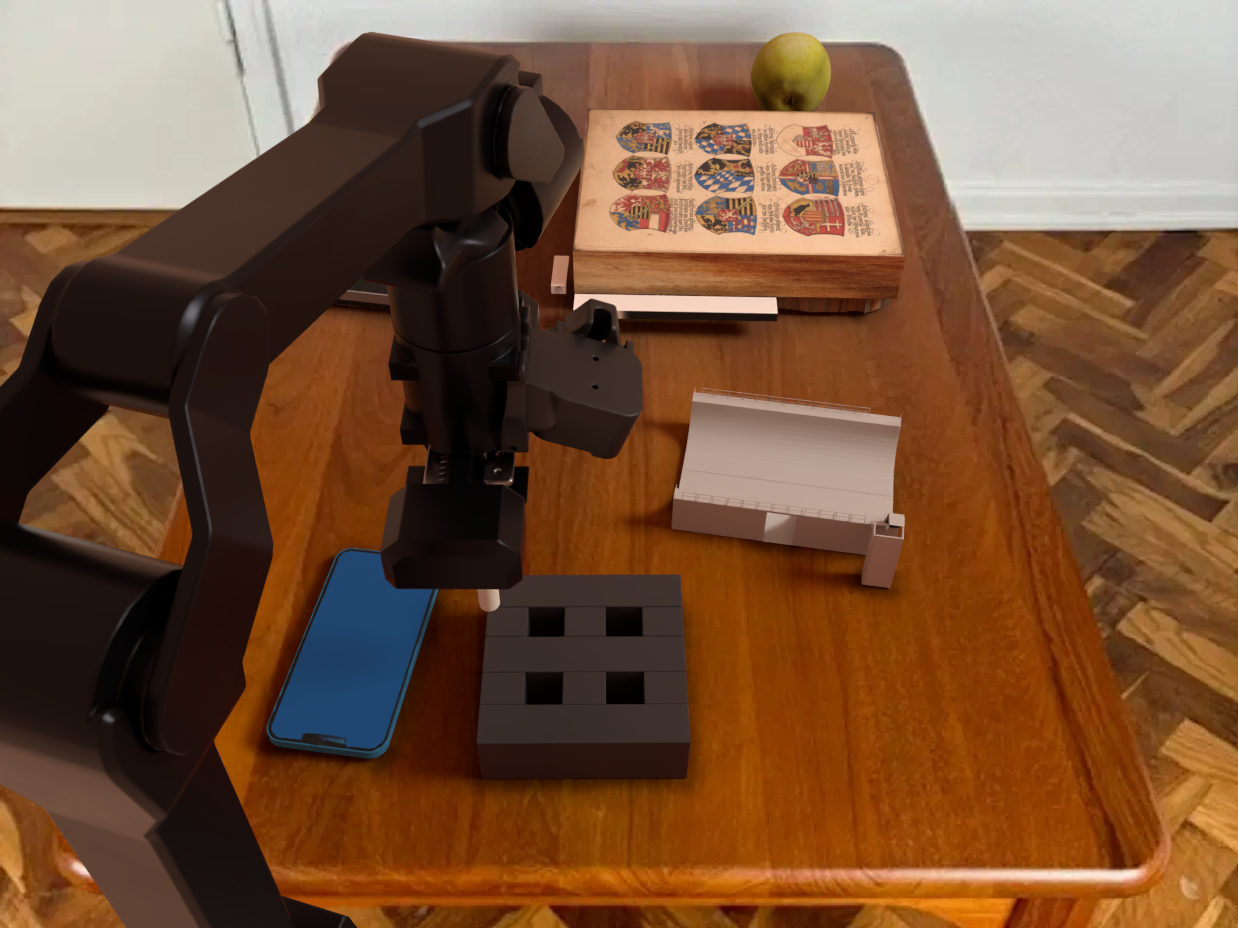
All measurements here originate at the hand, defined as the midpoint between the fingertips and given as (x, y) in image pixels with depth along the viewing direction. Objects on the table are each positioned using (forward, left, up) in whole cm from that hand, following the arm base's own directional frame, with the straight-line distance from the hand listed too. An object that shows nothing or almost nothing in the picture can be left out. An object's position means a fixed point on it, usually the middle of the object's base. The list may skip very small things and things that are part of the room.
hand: (481, 536), depth 65 cm
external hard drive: (+30, +26, -13) cm, 42 cm away
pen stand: (+1, -6, -13) cm, 14 cm away
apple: (+71, +5, -13) cm, 72 cm away
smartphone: (-2, +8, -13) cm, 16 cm away
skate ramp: (+21, -12, -13) cm, 27 cm away
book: (+47, +3, -13) cm, 49 cm away
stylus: (0, 0, -6) cm, 6 cm away
